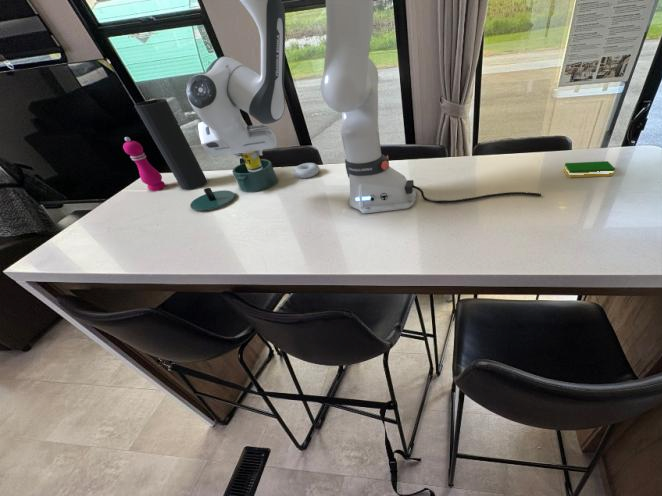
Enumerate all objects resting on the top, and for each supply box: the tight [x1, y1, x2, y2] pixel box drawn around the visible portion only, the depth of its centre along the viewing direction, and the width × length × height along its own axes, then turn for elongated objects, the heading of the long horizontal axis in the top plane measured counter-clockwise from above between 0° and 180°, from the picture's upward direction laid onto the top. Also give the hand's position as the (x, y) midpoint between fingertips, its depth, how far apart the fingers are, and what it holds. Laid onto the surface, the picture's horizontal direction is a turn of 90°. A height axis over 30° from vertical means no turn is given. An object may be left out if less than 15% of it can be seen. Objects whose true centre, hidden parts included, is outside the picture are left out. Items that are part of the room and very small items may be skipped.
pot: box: [231, 158, 278, 193], centre depth 125 cm, size 14×20×7 cm
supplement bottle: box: [241, 151, 263, 172], centre depth 102 cm, size 5×5×8 cm
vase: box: [133, 98, 208, 191], centre depth 123 cm, size 10×10×30 cm
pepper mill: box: [122, 136, 167, 192], centre depth 127 cm, size 7×7×20 cm
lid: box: [189, 187, 236, 212], centre depth 117 cm, size 15×15×5 cm
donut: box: [293, 162, 320, 179], centre depth 129 cm, size 10×4×10 cm
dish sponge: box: [563, 160, 616, 178], centre depth 108 cm, size 7×14×2 cm, turn 84°
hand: (250, 155), depth 103 cm, fingers closed on supplement bottle, 5 cm apart
